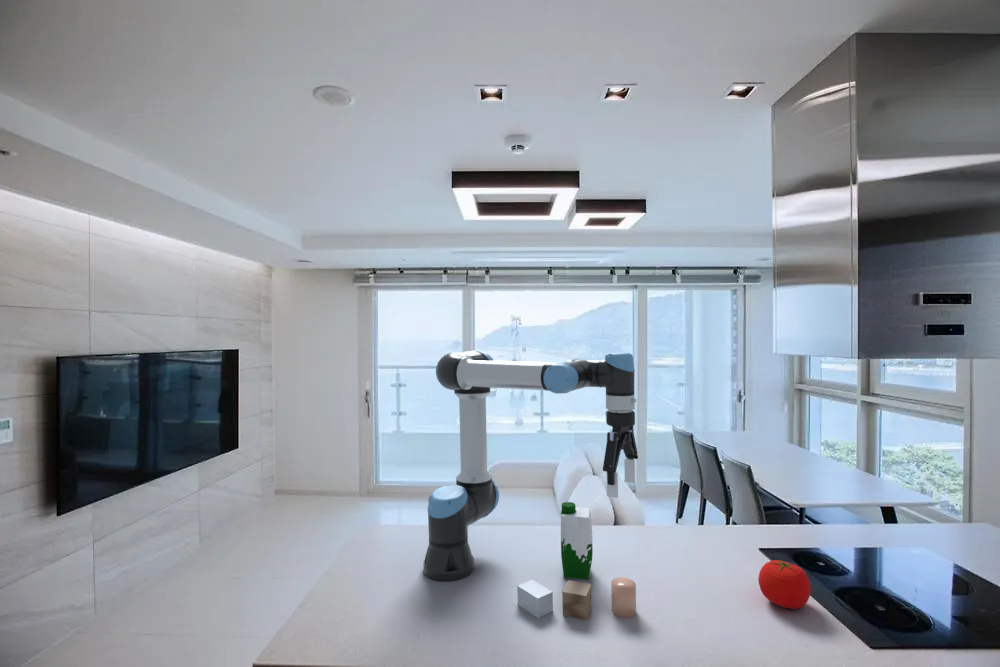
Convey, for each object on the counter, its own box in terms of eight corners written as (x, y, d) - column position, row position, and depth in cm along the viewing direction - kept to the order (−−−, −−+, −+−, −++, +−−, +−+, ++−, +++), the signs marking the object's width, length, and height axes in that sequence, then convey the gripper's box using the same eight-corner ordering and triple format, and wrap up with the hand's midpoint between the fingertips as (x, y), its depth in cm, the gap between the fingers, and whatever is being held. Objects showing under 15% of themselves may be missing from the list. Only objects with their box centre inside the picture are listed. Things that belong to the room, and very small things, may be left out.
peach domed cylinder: (608, 613, 125) (607, 585, 125) (616, 602, 130) (615, 575, 130) (631, 620, 122) (631, 592, 121) (639, 608, 127) (638, 581, 126)
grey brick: (517, 604, 130) (517, 585, 130) (532, 598, 133) (531, 579, 133) (538, 618, 123) (537, 598, 123) (552, 611, 126) (552, 591, 126)
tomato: (815, 602, 128) (815, 561, 128) (802, 622, 119) (802, 579, 119) (767, 586, 136) (767, 548, 136) (752, 605, 127) (752, 564, 127)
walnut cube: (562, 615, 124) (562, 591, 124) (568, 603, 130) (568, 580, 130) (586, 620, 122) (586, 596, 122) (591, 607, 128) (591, 584, 128)
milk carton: (562, 564, 151) (561, 498, 150) (593, 567, 149) (592, 500, 149) (560, 579, 142) (559, 509, 142) (592, 581, 140) (591, 511, 140)
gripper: (617, 419, 121) (618, 506, 121) (648, 404, 142) (649, 479, 142) (588, 416, 125) (590, 500, 126) (622, 403, 146) (623, 475, 146)
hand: (621, 489), depth 134 cm, fingers open, 13 cm apart
